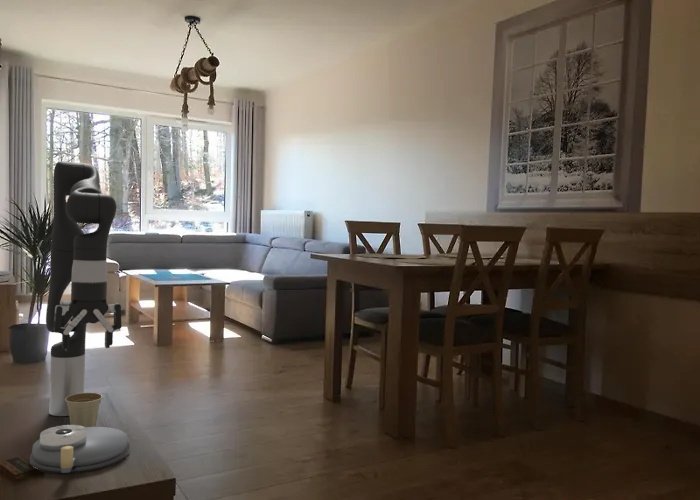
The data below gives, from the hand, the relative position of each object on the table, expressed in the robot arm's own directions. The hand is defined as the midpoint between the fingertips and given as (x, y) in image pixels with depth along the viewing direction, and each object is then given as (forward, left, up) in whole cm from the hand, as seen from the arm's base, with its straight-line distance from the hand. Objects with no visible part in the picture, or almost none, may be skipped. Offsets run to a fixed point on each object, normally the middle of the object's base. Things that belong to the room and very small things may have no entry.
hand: (87, 349), depth 133 cm
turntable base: (-7, 0, -27) cm, 28 cm away
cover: (-7, -4, -24) cm, 25 cm away
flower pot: (-27, +4, -28) cm, 39 cm away
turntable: (-4, 0, -26) cm, 26 cm away
